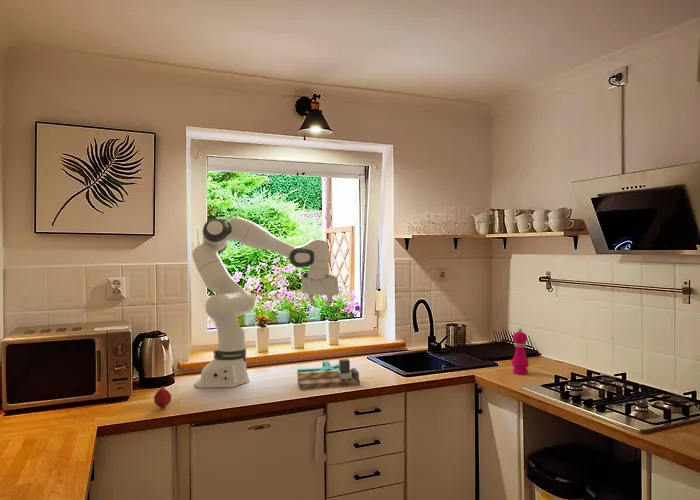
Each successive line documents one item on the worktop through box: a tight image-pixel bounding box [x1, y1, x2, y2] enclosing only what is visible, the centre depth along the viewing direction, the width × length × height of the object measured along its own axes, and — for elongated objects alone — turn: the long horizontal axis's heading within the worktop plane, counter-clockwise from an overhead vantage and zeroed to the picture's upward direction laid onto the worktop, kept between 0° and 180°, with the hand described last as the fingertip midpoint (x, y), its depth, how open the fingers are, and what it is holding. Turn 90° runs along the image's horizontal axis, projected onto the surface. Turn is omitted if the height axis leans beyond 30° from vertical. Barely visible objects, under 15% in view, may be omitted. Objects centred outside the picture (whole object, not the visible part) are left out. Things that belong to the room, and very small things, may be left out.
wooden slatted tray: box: [297, 367, 361, 390], centre depth 219 cm, size 25×10×5 cm, turn 101°
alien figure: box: [296, 360, 339, 375], centre depth 239 cm, size 20×2×20 cm
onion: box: [153, 386, 172, 409], centre depth 190 cm, size 6×6×8 cm
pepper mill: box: [511, 327, 530, 376], centre depth 232 cm, size 7×7×20 cm
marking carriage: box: [338, 358, 353, 380], centre depth 220 cm, size 6×6×7 cm
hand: (320, 304), depth 240 cm, fingers open, 8 cm apart
